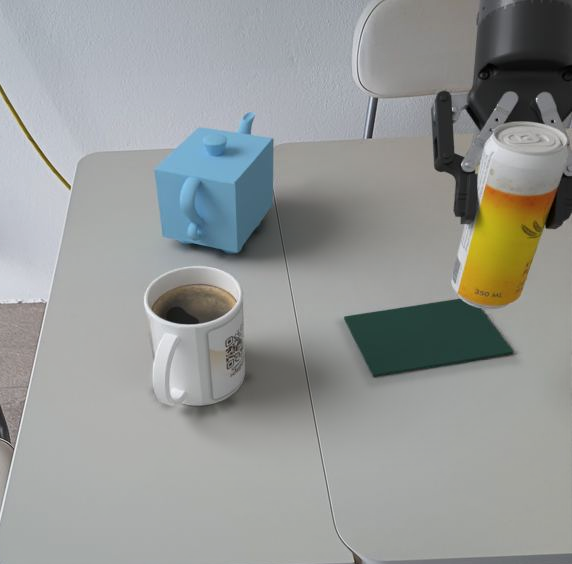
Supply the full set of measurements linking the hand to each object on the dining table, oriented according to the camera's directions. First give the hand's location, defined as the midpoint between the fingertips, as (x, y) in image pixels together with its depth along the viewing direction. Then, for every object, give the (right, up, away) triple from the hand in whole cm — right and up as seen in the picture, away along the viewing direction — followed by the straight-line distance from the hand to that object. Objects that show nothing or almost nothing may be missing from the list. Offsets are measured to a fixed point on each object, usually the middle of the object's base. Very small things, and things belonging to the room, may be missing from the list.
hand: (510, 224), depth 52 cm
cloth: (0, -9, +21) cm, 23 cm away
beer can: (+1, -5, +7) cm, 9 cm away
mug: (-27, -14, +18) cm, 35 cm away
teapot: (-23, +8, +41) cm, 47 cm away
